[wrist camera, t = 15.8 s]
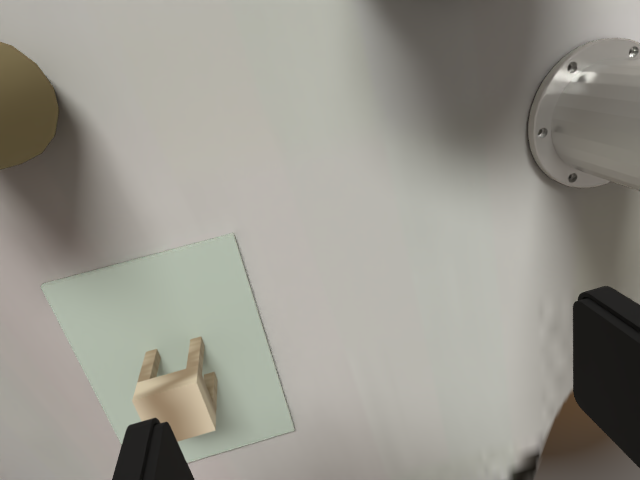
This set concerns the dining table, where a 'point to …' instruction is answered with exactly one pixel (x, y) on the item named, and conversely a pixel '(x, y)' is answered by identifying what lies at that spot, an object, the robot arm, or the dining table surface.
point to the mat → (176, 337)
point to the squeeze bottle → (24, 108)
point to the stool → (178, 394)
